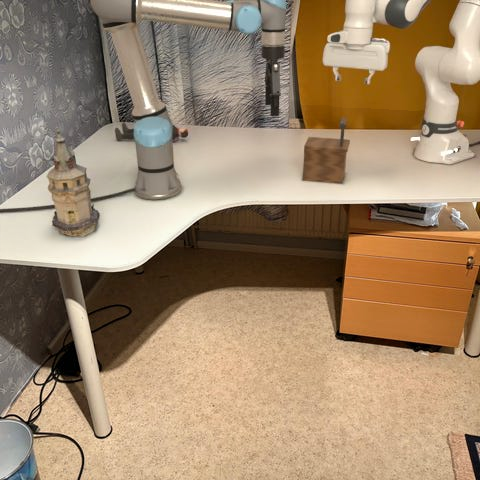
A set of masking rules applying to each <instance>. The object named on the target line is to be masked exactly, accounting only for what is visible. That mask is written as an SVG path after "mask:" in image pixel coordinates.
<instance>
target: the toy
mask: <svg viewBox="0 0 480 480" xmlns="http://www.w3.org/2000/svg"><path fill="white" fill-rule="evenodd" d="M121 129H122V132H121V130H120V129H119V127H115V128H114V134H115V140H116V141H118V142H119V141H122V140H135V137H134V128H129V127H128V125H127V124H126V122H124V121H123V122H122V123H121ZM188 136H189V131H188V129H187V128H186V127H179V128H178V127H177V126H176V125H174V124H173V132H172V142H175V141H177V140H178V138H179V137H180V138H183V139H185V138H187V137H188Z"/></svg>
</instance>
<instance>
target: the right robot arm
mask: <svg viewBox="0 0 480 480" xmlns="http://www.w3.org/2000/svg"><path fill="white" fill-rule="evenodd" d="M431 1H432V0H345V4H344V5H345V7H344V13H345V19H344V20H345V21H344V23H343V28H342V30H338V31H336V32H332V33H329V35H327V43H326V44H325V46H324V47H323V53H322V64H323V65H324V66H325V67H332V72H333V74H334V76H335V78H334V79H335V82H341V81H342V74H340V72H339V69H340V68H346V69H359V70H368V73H369V76H368V77H365V78H364V82H363V84H364V85H370V84H371V79H372V78H373V76H374V75H375V73H376V71H377V72H379V71H380V72H384V71H385V70H386V69H387V68H388V65H389V64H388V63H389V62H388V61H389V53H390V51H391V43H390V41H389V40H387V38H378V37H373V30H374V29H373V28H374V23H375V24H378V25H379V24H380V25H385V26H391V27H393V28H396V29H399V30H404V29H407V28H409V27H410V26H412V25H413V24H414V23H415V22H416V20H417V19H418V17H419V16H420V15H421V13H422V11H423V10H424V9H425V8H426V7H427V5H429V4H430V2H431ZM448 29H449V32H450V34H451V35H452V36H453V37H454V43H453V47H448V46H447V47H446V46H441V45H430V46H424V47H423V48H421V49H420V50H419V52H418V53H417V55H416V57H415V61H414V67H415V70H416V72H417V74H419V76H420V77H421V79H422V82H423V85H424V90H425V106H424V107H425V108H424V113H423V114H424V115H423V117H422V120H421V125H420V133H419V136H417V137H411V138H410V141H417V145H416V146H415V150H414V152H413V156H414V157H415V158H416V159H418V160H420V161H424V162H428V163H434V164H435V163H436V164H442V165H443V164H444V165H453V164H456V163H459V162H462V161H465V160H468V159H472V158H474V157H475V153H474V152H473V151H472V150H471V149H470V147H473V146H477V145H479V144H480V140H478V141H477V142H475V143H470V141H469V138H468V137H467V134H464V133H462V132H461V131H459V127H460V128H463V127H464V126H465V121H464V120H463V121H462V120H461V119H460V120H457V115H458V110H459V104H460V99H459V96H458V95H457V94H456V92H455V91H454V90H453V88H452V84H455V85H459V86H469V85H475V84H477V83H478V82H480V0H459V2H458V4H457V6H456V9H455V10H454V12H453V15H452V17H451V19H450V22H449V26H448Z"/></svg>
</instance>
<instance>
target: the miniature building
mask: <svg viewBox="0 0 480 480" xmlns="http://www.w3.org/2000/svg"><path fill="white" fill-rule="evenodd" d="M56 134H57V136H56V138H55V140H54V141H55V142H56V147H55V154H54V156H52V157H51V161H52V162H53V165H54V167H53V168H51V169H50V170H49V171H48V173H47V174H46V178H47V179H48V182H49V184H48V186H47V190H48V191H49V193H50V194H51V200H52V201H53V205H55V208H54V209H55V211H53V217H52V220H51V223H52V225H51V227H54V228H56V229H58V230H59V231H60V234H63V235H64V234H65V235H66V236H69V237H77V236H80V237H83V236H87V235H88V234H90V233H93V232H94V231H95V229H96V226H97V225H98V223H99V220H100V216H101V213H100V212H99V210H98V209H96V208H95V204H92V202H91V198H92V197H91V192H92V191H91V188H90V184H91V178H89V177H88V174H87V167H85V166H84V165H83V166H82V165H80V164H77V160H76V154H75V151H74V150H70V149H69V147H68V145H67V143H66V138H65V137H64V136H63V135H61V130H60V129H56Z"/></svg>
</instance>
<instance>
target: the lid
mask: <svg viewBox="0 0 480 480" xmlns="http://www.w3.org/2000/svg"><path fill="white" fill-rule="evenodd" d="M347 119H348V118H347V117H342V118H341V119H340V123H339V128H340V137H339V138H334V137H333V138H332V137H319V136H308V137H307V139H306V142H305V144H304V146H303V147H304V148H303V150H304V149H313V150H326V151H339V152H347V153H348V152H349V147H350V144H351V139H346V138H345V129H346V127H347V122H348V120H347ZM344 138H345V139H344Z"/></svg>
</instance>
